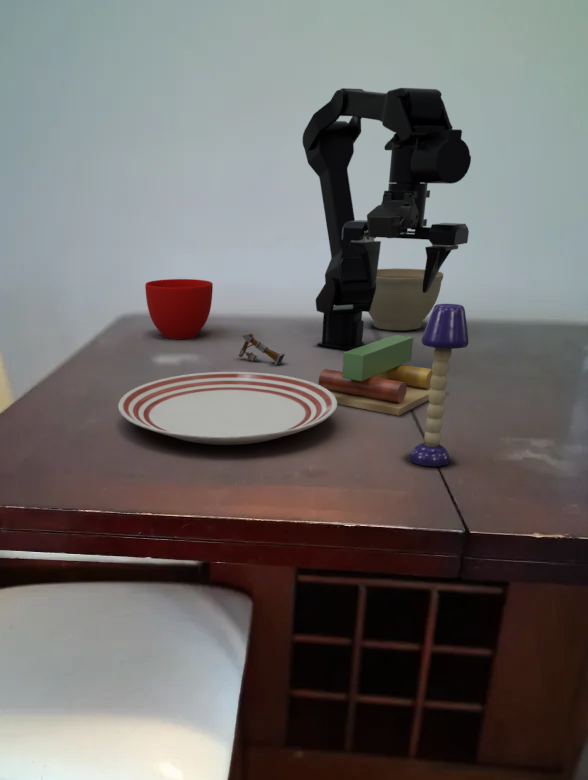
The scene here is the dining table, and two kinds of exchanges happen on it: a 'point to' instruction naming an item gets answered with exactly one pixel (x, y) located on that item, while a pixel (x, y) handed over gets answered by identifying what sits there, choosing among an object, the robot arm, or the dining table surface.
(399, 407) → the rod rack
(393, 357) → the bar
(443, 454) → the toy lamp
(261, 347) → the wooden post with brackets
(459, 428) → the dining table surface
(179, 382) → the dinner plate
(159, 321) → the ceramic cup
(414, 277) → the planter bowl
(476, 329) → the dining table surface
